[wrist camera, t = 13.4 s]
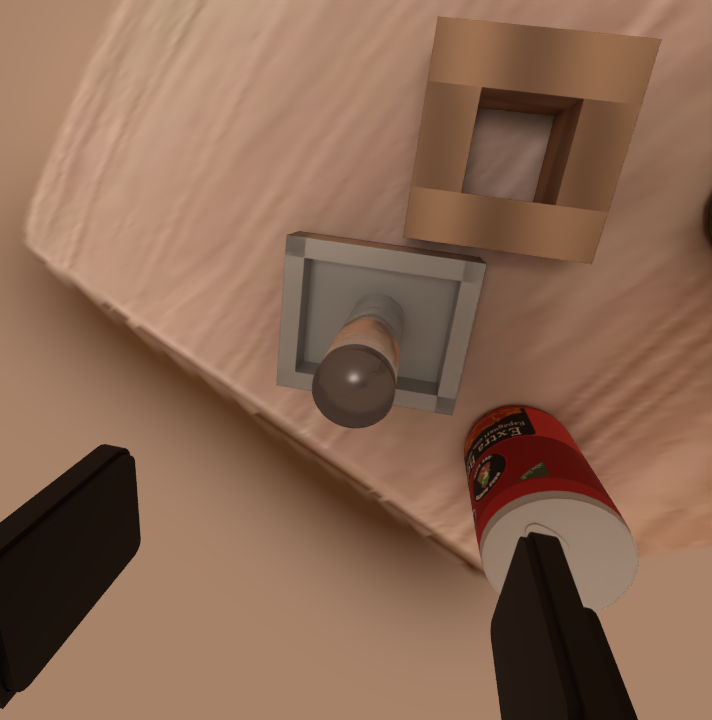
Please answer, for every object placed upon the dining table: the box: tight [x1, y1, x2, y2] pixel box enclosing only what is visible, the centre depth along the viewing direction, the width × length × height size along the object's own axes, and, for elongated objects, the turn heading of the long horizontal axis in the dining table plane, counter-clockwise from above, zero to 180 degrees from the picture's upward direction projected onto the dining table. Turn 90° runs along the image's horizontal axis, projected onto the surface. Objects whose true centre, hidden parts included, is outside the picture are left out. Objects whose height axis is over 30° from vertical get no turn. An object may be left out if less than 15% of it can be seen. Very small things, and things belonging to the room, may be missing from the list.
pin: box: [312, 293, 404, 428], centre depth 25 cm, size 4×4×12 cm
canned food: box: [464, 406, 639, 612], centre depth 28 cm, size 8×8×11 cm
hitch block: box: [403, 17, 662, 264], centre depth 25 cm, size 10×10×5 cm
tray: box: [276, 231, 486, 415], centre depth 30 cm, size 12×10×3 cm
